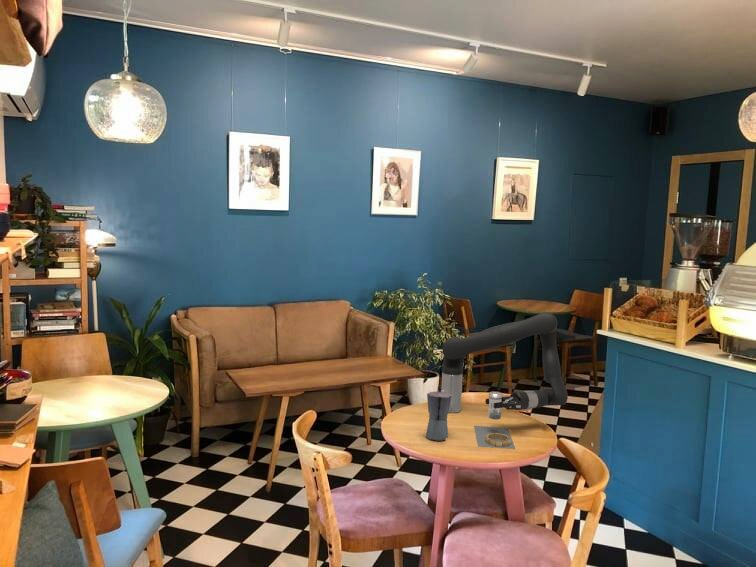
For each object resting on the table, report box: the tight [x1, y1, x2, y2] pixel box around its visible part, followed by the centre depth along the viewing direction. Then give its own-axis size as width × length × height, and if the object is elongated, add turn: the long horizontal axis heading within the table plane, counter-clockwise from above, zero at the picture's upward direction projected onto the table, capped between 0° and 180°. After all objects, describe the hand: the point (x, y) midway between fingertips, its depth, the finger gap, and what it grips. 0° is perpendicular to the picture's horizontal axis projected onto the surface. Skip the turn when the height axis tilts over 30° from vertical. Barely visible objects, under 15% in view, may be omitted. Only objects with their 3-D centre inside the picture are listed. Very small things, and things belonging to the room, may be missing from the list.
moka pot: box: [425, 386, 452, 441], centre depth 231 cm, size 10×15×20 cm, turn 179°
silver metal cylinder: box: [487, 391, 503, 420], centre depth 238 cm, size 5×5×10 cm
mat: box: [473, 425, 516, 450], centre depth 233 cm, size 14×24×1 cm, turn 174°
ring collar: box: [485, 433, 512, 447], centre depth 227 cm, size 9×9×2 cm
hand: (490, 403), depth 237 cm, fingers closed on silver metal cylinder, 5 cm apart
